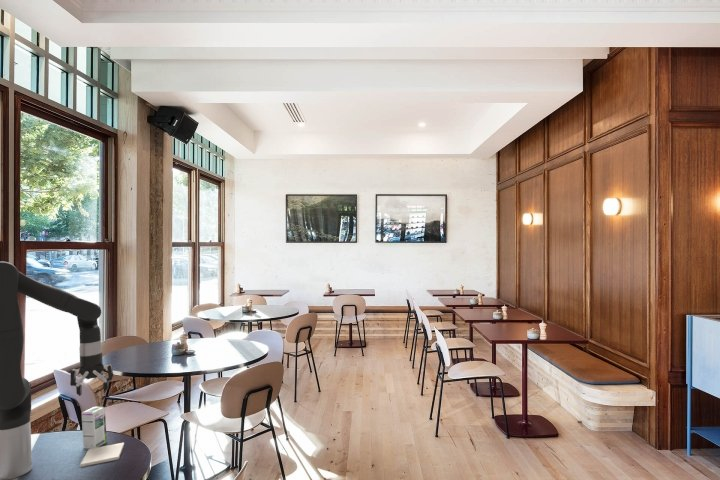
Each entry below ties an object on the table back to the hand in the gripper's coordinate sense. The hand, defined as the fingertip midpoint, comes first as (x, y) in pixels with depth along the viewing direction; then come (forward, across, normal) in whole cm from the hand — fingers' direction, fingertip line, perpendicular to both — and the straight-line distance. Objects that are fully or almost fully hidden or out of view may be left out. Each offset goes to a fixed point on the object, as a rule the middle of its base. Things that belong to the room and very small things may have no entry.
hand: (93, 393), depth 164 cm
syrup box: (+21, 0, 0) cm, 21 cm away
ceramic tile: (+21, +5, -11) cm, 24 cm away
